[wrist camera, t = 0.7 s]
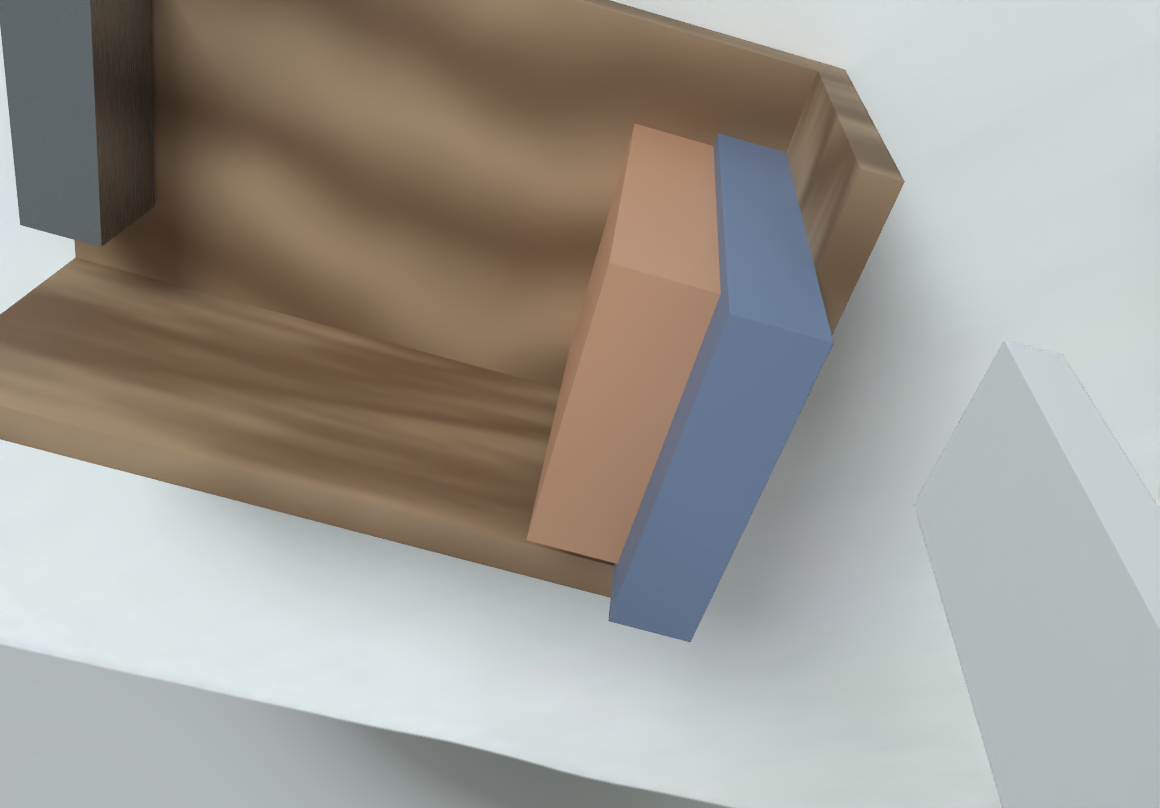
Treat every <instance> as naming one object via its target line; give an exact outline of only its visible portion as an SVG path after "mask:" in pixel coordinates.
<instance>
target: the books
mask: <svg viewBox="0 0 1160 808" xmlns="http://www.w3.org/2000/svg"><path fill="white" fill-rule="evenodd" d="M832 344H833V339H832V335H831V331H830V327H829V323H828V319H827V315H826V311H825V307H824V303H823V299H822V295H821V291H820V287H819V283H818V279H817V275H816V271H815V267H814V263H813V259H812V255H811V251H810V247H809V243H808V239H807V235H806V231H805V227H804V223H803V219H802V215H801V211H800V207H799V203H798V199H797V195H796V191H795V187H794V183H793V178H792V174H791V170H790V166H789V162H788V158H787V154H786V153H785V152H782V151H778V150H775V149H771V148H768V147H764V146H761V145H757V144H754V143H750V142H747V141H743V140H740V139H737V138H733V137H730V136H726V135H723V134H719V133H718V134H717V137H716V140H715V143H714V146H711V145H708V144H704V143H701V142H697V141H694V140H690V139H687V138H683V137H680V136H676V135H673V134H669V133H666V132H662V131H659V130H655V129H652V128H648V127H645V126H642V125H638V124H634V127H633V131H632V134H631V138H630V141H629V145H628V148H627V152H626V155H625V159H624V162H623V166H622V169H621V173H620V176H619V179H618V183H617V186H616V190H615V193H614V197H613V200H612V204H611V207H610V211H609V214H608V218H607V221H606V224H605V228H604V231H603V235H602V238H601V242H600V245H599V249H598V252H597V256H596V259H595V263H594V266H593V270H592V273H591V276H590V280H589V283H588V287H587V290H586V294H585V297H584V301H583V304H582V308H581V311H580V315H579V318H578V322H577V325H576V328H575V332H574V335H573V339H572V342H571V346H570V349H569V353H568V358H567V362H566V367H565V371H564V376H563V380H562V384H561V389H560V393H559V398H558V402H557V407H556V411H555V415H554V420H553V424H552V429H551V433H550V438H549V442H548V446H547V451H546V455H545V460H544V464H543V469H542V473H541V478H540V482H539V486H538V491H537V495H536V500H535V504H534V509H533V513H532V517H531V522H530V526H529V531H528V535H527V540H528V541H532V542H536V543H539V544H543V545H547V546H551V547H555V548H559V549H562V550H566V551H570V552H574V553H578V554H582V555H585V556H589V557H593V558H597V559H601V560H604V561H608V562H612V563H614V573H613V582H612V592H611V601H610V611H609V620H608V621H611V622H614V623H618V624H622V625H626V626H630V627H634V628H638V629H642V630H645V631H649V632H653V633H657V634H661V635H665V636H669V637H673V638H676V639H680V640H684V641H688V642H691V640H692V638H693V636H694V633H695V631H696V629H697V627H698V625H699V623H700V621H701V619H702V617H703V615H704V613H705V610H706V608H707V606H708V604H709V602H710V600H711V598H712V596H713V594H714V592H715V589H716V587H717V585H718V583H719V581H720V579H721V577H722V575H723V573H724V571H725V569H726V566H727V564H728V562H729V560H730V558H731V556H732V554H733V552H734V550H735V548H736V545H737V543H738V541H739V539H740V537H741V535H742V533H743V531H744V529H745V527H746V525H747V522H748V520H749V518H750V516H751V514H752V512H753V510H754V508H755V506H756V504H757V502H758V499H759V497H760V495H761V493H762V491H763V489H764V487H765V485H766V483H767V481H768V478H769V476H770V474H771V472H772V470H773V468H774V466H775V464H776V462H777V460H778V458H779V455H780V453H781V451H782V449H783V447H784V445H785V443H786V441H787V439H788V437H789V434H790V432H791V430H792V428H793V426H794V424H795V422H796V420H797V418H798V416H799V414H800V411H801V409H802V407H803V405H804V403H805V401H806V399H807V397H808V395H809V393H810V390H811V388H812V386H813V384H814V382H815V380H816V378H817V376H818V374H819V372H820V370H821V367H822V365H823V363H824V361H825V359H826V357H827V355H828V353H829V351H830V349H831V346H832Z"/></svg>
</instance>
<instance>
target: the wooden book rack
mask: <svg viewBox="0 0 1160 808" xmlns="http://www.w3.org/2000/svg"><path fill="white" fill-rule="evenodd" d="M152 51H153V141H154V207H153V208H152V209H150V210H149V211H148V212H146V213H145V214H144V215H142V216H141V217H140V218H139V219H137V220H136V221H135V222H133V223H132V224H131V225H129V226H128V227H127V228H126V229H124V230H123V231H122V232H120V233H119V234H118V235H117V236H115V237H114V238H113V239H111V240H110V241H109V242H107V243H106V244H105V245H104V246H102V247H100V246H96V245H92V244H89V243H85V242H81V241H78V240H75V253H76V258H75V259H73V260H72V261H71V262H69V263H68V264H67V265H65V266H64V267H63V268H61V269H60V270H59V271H57V272H56V273H55V274H53V275H52V276H51V277H49V278H48V279H47V280H45V281H44V282H43V283H41V284H40V285H39V286H37V287H36V288H35V289H34V290H32V291H31V292H30V293H28V294H27V295H26V296H24V297H23V298H22V299H20V300H19V301H18V302H16V303H15V304H14V305H12V306H11V307H10V308H8V309H7V310H6V311H4V312H3V313H2V314H0V439H1V440H5V441H9V442H13V443H17V444H21V445H25V446H28V447H32V448H36V449H40V450H44V451H48V452H52V453H55V454H59V455H63V456H67V457H71V458H75V459H78V460H82V461H86V462H90V463H94V464H98V465H102V466H105V467H109V468H113V469H117V470H121V471H125V472H129V473H132V474H136V475H140V476H144V477H148V478H152V479H156V480H159V481H163V482H167V483H171V484H175V485H179V486H183V487H186V488H190V489H194V490H198V491H202V492H206V493H210V494H213V495H217V496H221V497H225V498H229V499H233V500H237V501H240V502H244V503H248V504H252V505H256V506H260V507H263V508H267V509H271V510H275V511H279V512H283V513H287V514H290V515H294V516H298V517H302V518H306V519H310V520H314V521H317V522H321V523H325V524H329V525H333V526H337V527H341V528H344V529H348V530H352V531H356V532H360V533H364V534H368V535H371V536H375V537H379V538H383V539H387V540H391V541H395V542H398V543H402V544H406V545H410V546H414V547H418V548H421V549H425V550H429V551H433V552H437V553H441V554H445V555H448V556H452V557H456V558H460V559H464V560H468V561H472V562H475V563H479V564H483V565H487V566H491V567H495V568H499V569H502V570H506V571H510V572H514V573H518V574H522V575H526V576H529V577H533V578H537V579H541V580H545V581H549V582H553V583H556V584H560V585H564V586H568V587H572V588H576V589H579V590H583V591H587V592H591V593H595V594H599V595H603V596H606V597H610V598H611V592H612V582H613V573H614V563H612V562H608V561H604V560H601V559H597V558H593V557H589V556H585V555H582V554H578V553H574V552H570V551H566V550H562V549H559V548H555V547H551V546H547V545H543V544H539V543H536V542H532V541H528V540H527V535H528V531H529V526H530V522H531V517H532V513H533V509H534V504H535V500H536V495H537V491H538V486H539V482H540V478H541V473H542V469H543V464H544V460H545V455H546V451H547V446H548V442H549V438H550V433H551V429H552V424H553V420H554V415H555V411H556V407H557V402H558V398H559V393H560V389H561V384H562V380H563V376H564V371H565V367H566V362H567V358H568V353H569V349H570V346H571V342H572V339H573V335H574V332H575V328H576V325H577V322H578V318H579V315H580V311H581V308H582V304H583V301H584V297H585V294H586V290H587V287H588V283H589V280H590V276H591V273H592V270H593V266H594V263H595V259H596V256H597V252H598V249H599V245H600V242H601V238H602V235H603V231H604V228H605V224H606V221H607V218H608V214H609V211H610V207H611V204H612V200H613V197H614V193H615V190H616V186H617V183H618V179H619V176H620V173H621V169H622V166H623V162H624V159H625V155H626V152H627V148H628V145H629V141H630V138H631V134H632V131H633V127H634V124H638V125H642V126H645V127H648V128H652V129H655V130H659V131H662V132H666V133H669V134H673V135H676V136H680V137H683V138H687V139H690V140H694V141H697V142H701V143H704V144H708V145H711V146H714V143H715V140H716V137H717V134H718V133H719V134H723V135H726V136H730V137H733V138H737V139H740V140H743V141H747V142H750V143H754V144H757V145H761V146H764V147H768V148H771V149H775V150H778V151H782V152H785V153H786V154H787V158H788V162H789V166H790V170H791V174H792V178H793V183H794V187H795V191H796V195H797V199H798V203H799V207H800V211H801V215H802V219H803V223H804V227H805V231H806V235H807V239H808V243H809V247H810V251H811V255H812V259H813V263H814V267H815V271H816V275H817V279H818V283H819V287H820V291H821V295H822V299H823V303H824V307H825V311H826V315H827V319H828V323H829V327H830V331H831V335H832V334H833V332H834V330H835V327H836V325H837V323H838V321H839V319H840V317H841V315H842V313H843V311H844V308H845V306H846V304H847V302H848V300H849V298H850V296H851V294H852V292H853V289H854V287H855V285H856V283H857V281H858V279H859V277H860V275H861V273H862V270H863V268H864V266H865V264H866V262H867V260H868V258H869V256H870V254H871V251H872V249H873V247H874V245H875V243H876V241H877V239H878V237H879V235H880V232H881V230H882V228H883V226H884V224H885V222H886V220H887V218H888V216H889V213H890V211H891V209H892V207H893V205H894V203H895V201H896V199H897V197H898V194H899V192H900V190H901V188H902V186H903V184H904V182H905V181H904V180H903V178H902V176H901V174H900V172H899V170H898V168H897V166H896V164H895V163H894V161H893V159H892V157H891V155H890V153H889V151H888V149H887V148H886V146H885V144H884V142H883V140H882V138H881V136H880V134H879V133H878V131H877V129H876V127H875V125H874V123H873V121H872V119H871V118H870V116H869V114H868V112H867V110H866V108H865V106H864V104H863V102H862V101H861V99H860V97H859V95H858V93H857V91H856V89H855V87H854V86H853V84H852V82H851V80H850V78H849V76H848V74H847V72H846V71H845V70H844V69H841V68H837V67H834V66H830V65H827V64H824V63H820V62H817V61H813V60H810V59H807V58H803V57H800V56H796V55H793V54H790V53H786V52H783V51H779V50H776V49H773V48H769V47H766V46H762V45H759V44H756V43H752V42H749V41H745V40H742V39H739V38H735V37H732V36H729V35H725V34H722V33H718V32H715V31H712V30H708V29H705V28H701V27H698V26H695V25H691V24H688V23H684V22H681V21H678V20H674V19H671V18H667V17H664V16H661V15H657V14H654V13H650V12H647V11H644V10H640V9H637V8H633V7H630V6H627V5H623V4H620V3H616V2H613V1H610V0H152Z"/></svg>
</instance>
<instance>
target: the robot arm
mask: <svg viewBox="0 0 1160 808" xmlns="http://www.w3.org/2000/svg"><path fill="white" fill-rule="evenodd" d="M914 507H915V510H916V514H917V517H918V521H919V524H920V528H921V531H922V534H923V538H924V541H925V545H926V548H927V552H928V555H929V558H930V562H931V565H932V569H933V572H934V575H935V579H936V582H937V586H938V589H939V593H940V596H941V599H942V603H943V606H944V610H945V613H946V616H947V620H948V623H949V627H950V630H951V634H952V637H953V640H954V644H955V647H956V651H957V654H958V658H959V661H960V664H961V668H962V671H963V675H964V678H965V681H966V685H967V688H968V692H969V695H970V699H971V702H972V705H973V709H974V712H975V716H976V719H977V722H978V726H979V729H980V733H981V736H982V740H983V743H984V746H985V750H986V753H987V757H988V760H989V764H990V767H991V770H992V774H993V777H994V781H995V784H996V787H997V791H998V794H999V798H1000V801H1001V805H1002V808H1160V508H1159V507H1158V505H1157V503H1156V502H1155V500H1154V499H1153V497H1152V496H1151V494H1150V492H1149V491H1148V489H1147V488H1146V486H1145V484H1144V483H1143V481H1142V480H1141V478H1140V476H1139V475H1138V473H1137V472H1136V470H1135V468H1134V467H1133V465H1132V464H1131V462H1130V460H1129V459H1128V457H1127V456H1126V454H1125V452H1124V451H1123V449H1122V448H1121V446H1120V445H1119V443H1118V441H1117V440H1116V438H1115V437H1114V435H1113V433H1112V432H1111V430H1110V429H1109V427H1108V425H1107V424H1106V422H1105V421H1104V419H1103V417H1102V416H1101V414H1100V413H1099V411H1098V409H1097V408H1096V406H1095V405H1094V403H1093V401H1092V400H1091V398H1090V397H1089V395H1088V394H1087V392H1086V390H1085V389H1084V387H1083V386H1082V384H1081V382H1080V381H1079V379H1078V378H1077V376H1076V374H1075V373H1074V371H1073V370H1072V368H1071V366H1070V365H1069V363H1068V362H1067V360H1066V358H1065V357H1064V355H1062V354H1058V353H1054V352H1050V351H1046V350H1042V349H1037V348H1033V347H1029V346H1025V345H1021V344H1017V343H1012V342H1008V341H1003V343H1002V345H1001V347H1000V349H999V350H998V352H997V354H996V356H995V358H994V359H993V361H992V363H991V365H990V367H989V369H988V370H987V372H986V374H985V376H984V378H983V379H982V381H981V383H980V385H979V387H978V389H977V390H976V392H975V394H974V396H973V398H972V399H971V401H970V403H969V405H968V407H967V409H966V410H965V412H964V414H963V416H962V418H961V419H960V421H959V423H958V425H957V427H956V428H955V430H954V432H953V434H952V436H951V438H950V439H949V441H948V443H947V445H946V447H945V448H944V450H943V452H942V454H941V456H940V458H939V459H938V461H937V463H936V465H935V467H934V468H933V470H932V472H931V474H930V476H929V478H928V479H927V481H926V483H925V485H924V487H923V488H922V490H921V492H920V494H919V496H918V497H917V499H916V501H915V503H914Z"/></svg>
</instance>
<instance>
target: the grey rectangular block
mask: <svg viewBox="0 0 1160 808" xmlns="http://www.w3.org/2000/svg"><path fill="white" fill-rule="evenodd" d="M0 26H1V36H2V46H3V56H4V66H5V76H6V86H7V96H8V106H9V116H10V126H11V136H12V146H13V156H14V166H15V176H16V186H17V196H18V206H19V216H20V225H23V226H26V227H30V228H34V229H37V230H41V231H45V232H48V233H52V234H56V235H59V236H63V237H67V238H70V239H74V240H78V241H81V242H85V243H89V244H92V245H96V246H100V247H102V246H104V245H105V244H106V243H107V242H109V241H110V240H111V239H113V238H114V237H115V236H117V235H118V234H119V233H120V232H122V231H123V230H124V229H126V228H127V227H128V226H129V225H131V224H132V223H133V222H135V221H136V220H137V219H139V218H140V217H141V216H142V215H144V214H145V213H146V212H148V211H149V210H150V209H152V208H153V207H154V141H153V51H152V0H0Z"/></svg>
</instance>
